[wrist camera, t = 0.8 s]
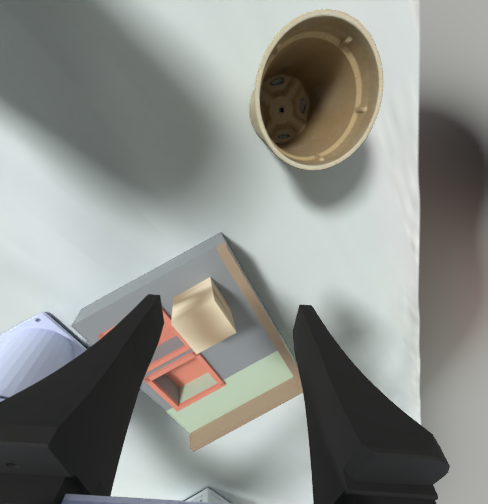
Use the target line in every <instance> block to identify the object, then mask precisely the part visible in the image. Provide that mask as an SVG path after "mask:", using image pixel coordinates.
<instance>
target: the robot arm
mask: <svg viewBox="0 0 488 504" xmlns="http://www.w3.org/2000/svg"><path fill="white" fill-rule="evenodd" d="M37 318H39V319H40V320H38V319H37ZM163 326H164V317H163V311H162V304H161V297H160V295H154V294H148V295H147V296H146V297H145V298H144V299H143V300H142V301H141V302H140V303H139V304H138V305H137V306H136V307H135V308H134V309H133V310H132V311H131V312H130V313H129V314H128V315H127V316H126V317H124V318H123V319H122V320H121V321H120V322H119V323H118V324H117V325H116V326H115V327H114V328H113V329H111V330H110V331H109V332H108V333H107V334H106V335H104V336H103V337H102V338H101V339H100V340H99V341H97V342H96V343H95V344H94V345H92V346H91V347H90V348H88V349H86V348H85V347H84V346H83V345H82V344H81V343H80V342H79V341H77V340H76V339H75V338H74V337H73V336H72V335H71V334H69V333H68V332H67V331H66V330H65V329H64V328H63V327H62V326H60V325H59V324H58V323H57V322H56V321H55V320H54V319H52V318H51V317H50V316H49V315H48V314H47V313H44V312H42V313H39V314H37V315H35V316H34V317H32V318H30V319H28V320H26V321H25V322H23V323H21V324H19V325H17V326H16V327H14V328H12V329H10V330H8V331H6V332H5V333H3V334H1V335H0V504H224V503H208V502H192V501H176V500H160V499H143V498H127V497H111V496H110V495H111V491H112V486H113V482H114V478H115V474H116V470H117V466H118V462H119V458H120V455H121V451H122V447H123V443H124V440H125V436H126V432H127V429H128V425H129V422H130V419H131V415H132V412H133V408H134V405H135V402H136V399H137V396H138V392H139V390H140V387H141V384H142V382H143V379H144V377H145V374H146V372H147V370H148V367H149V365H150V362H151V360H152V358H153V355H154V353H155V350H156V348H157V345H158V343H159V340H160V337H161V333H162V329H163ZM293 339H294V350H295V355H296V360H297V365H298V370H299V375H300V380H301V384H302V389H303V394H304V400H305V408H306V417H307V426H308V436H309V446H310V458H311V470H312V485H313V500H314V504H436V502H435V500H437V499H438V496H437V493H436V491H435V489H434V486H433V484H434V483H436V482H437V481H438V480H440V479H441V478H442V477H444V476H445V475H446V474H447V473H448V470H449V464H448V462H447V460H446V458H445V456H444V454H443V452H442V450H441V448H440V446H439V445H438V443H437V441H436V440H435V438H434V436H433V434H431V433H430V432H429V431H427V430H426V429H425V428H424V427H422V426H421V425H420V424H418V423H417V422H416V421H415V420H413V419H412V418H411V417H409V416H408V415H407V414H406V413H404V412H403V411H402V410H401V409H400V408H399V407H397V406H396V405H395V404H394V403H393V402H392V401H390V400H389V399H388V398H387V397H386V396H385V395H384V394H383V393H382V392H381V391H380V390H379V389H378V388H376V387H375V386H374V385H373V384H372V383H371V382H370V381H369V380H368V379H367V378H366V377H365V376H364V375H363V374H362V372H361V371H360V370H359V369H358V368H357V367H356V366H355V365H354V364H353V362H352V361H351V360H350V359H349V358H348V356H347V355H346V354H345V353H344V351H343V350H342V349H341V348H340V346H339V345H338V344H337V342H336V341H335V340H334V338H333V337H332V336H331V334H330V333H329V331H328V330H327V328H326V327H325V325H324V324H323V322H322V321H321V319H320V318H319V316H318V315H317V313H316V311H315V310H314V308H313V307H312V306H311V305H299V309H298V313H297V317H296V321H295V325H294V329H293Z"/></svg>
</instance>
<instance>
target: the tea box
mask: <svg viewBox="0 0 488 504" xmlns="http://www.w3.org/2000/svg"><path fill="white" fill-rule="evenodd" d="M185 501H192V502H208V503H224V504H231V503H229V502H228V501H227V500H225V499H224V498H223V497H221V496H220V495H218V494H217V493H216V492H214V491H213V490H211V489H210V488H208V487H207V488H206V489H204V490H203V491H201V492H200V493H198V494H196V495H194V496H193V497H191V498H189V499H188V500H185Z"/></svg>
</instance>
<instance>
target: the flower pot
mask: <svg viewBox="0 0 488 504" xmlns="http://www.w3.org/2000/svg"><path fill="white" fill-rule="evenodd" d="M277 79H283V80H284V81H283V83H282V84H276V85H272V86H271V84H270V83H271V82H273V81H274V80H277ZM382 95H383V71H382V64H381V59H380V55H379V53H378V51H377V48H376V44H375V43H374V40H373V38H372V37H371V35H370V33H369V32H368V31H367V29H365V27H364V26H363V25H362V24H361V23H360V22H359V21H358V20H356V19H355V18H354V17H352V16H350V15H348V14H347V13H345V12H341V11H336V10H331V9H325V10H323V9H321V10H315V11H311V12H307V13H305V14H302V15H300V16H298V17H297V18H295V19H293V20H292V21H290V22H289V23H288V24H287V25H286V26H284V27H283V28H282V29H281V30H280V31H279V33H278V34H277V35H276V36H275V37H274V39H273V40H272V42H271V43H270V44H269V46H268V48H267V50H266V52H265V54H264V56H263V58H262V61H261V63H260V66H259V69H258V73H257V77H256V83H255V90H254V92H253V94H252V97H251V101H250V119H251V123H252V125H253V128H254V130H255V132H256V133H257V134H258V135H259V137H260V138H261V139H263V140H264V141H265V142H266V143H267V145H268V146H269V147H270V149H271V150H272V151H273V152H274V154H275V155H276V156H277V157H279V158H280V159H281V160H282V161H284V162H285V163H287V164H289V165H291V166H293V167H296V168H299V169H304V170H322V169H326V168H329V167H331V166H334V165H336V164H338V163H340V162H342V161H344V160H345V159H347V158H348V157H349V156H351V155H352V154H353V153H354V152H355V151H356V150H357V149H358V148H359V147H360V146H361V144H362V143H363V142H364V140H365V139H366V138H367V136H368V134H369V133H370V131H371V129H372V127H373V125H374V123H375V120H376V118H377V115H378V112H379V109H380V104H381V100H382ZM302 98H303V99H304V101H305V111H304V112H301V104H300V99H302ZM280 108H283V109H284V111H283V112H282V113H281V112H280V111H279V109H280ZM286 134H288V137H286V138H282V139H280V138H278V136H282V135H286Z"/></svg>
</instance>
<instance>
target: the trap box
mask: <svg viewBox="0 0 488 504" xmlns="http://www.w3.org/2000/svg"><path fill="white" fill-rule="evenodd" d="M209 277H211V279H212V280H213V282H214V283H215V285H216V286H217V288H218V289H219V291H220V292H221V294H222V295H223V297H224V299H225V300H226V302H227V303H228V305H229V306H230V309H231V313H232V317H233V321H234V325H235V328H236V332H237V333H235V334H233V335H231V336H229V337H228V338H226V339H224V340H222V341H220V342H219V343H217V344H215V345H213V346H211V347H209V348H208V349H206V350H204V351H202V352H200V353H198V354H196V353H195V352H194V351H193V349H192V348H191V347H190V346H189V345H188V344H187V342H186V341H185V340H184V339H183V338H182V336H181V335H180V334H179V333H178V332H177V331H176V329H175V328H174V327H173V326H172V325H171V320H172V307H173V297H175V296H176V295H178V294H180V293H182V292H184V291H186V290H187V289H189V288H191V287H193V286H195V285H197V284H198V283H200V282H202V281H204V280H206V279H207V278H209ZM148 294H154V295H160V297H161V304H162V311H163V317H164V326H163V329H162V333H161V337H160V340H159V343H158V345H157V348H156V350H155V353H154V355H153V358H152V360H151V362H150V365H149V367H148V370H147V372H146V374H145V377H144V379H143V382H142V384H141V387H140V389H141V390H142V391H143V392H145V393H146V394H147V395H148V396H149V397H150V398H151V399H152V400H153V401H155V402H156V403H157V404H158V405H159V406H160V407H161V408H162V409H163V410H164V411H166V412H167V413H168V414H169V415H170V416H171V417H172V418H173V419H174V420H176V421H177V422H178V423H179V424H180V425H181V426H182V427H183V428H184V429H186V430H187V431H188V432H189V433H190V449H191V450H192V451H193V452H194V451H196V450H198V449H200V448H202V447H204V446H205V445H207V444H209V443H211V442H213V441H215V440H216V439H218V438H220V437H222V436H224V435H226V434H227V433H229V432H231V431H233V430H235V429H237V428H239V427H240V426H242V425H244V424H246V423H248V422H250V421H251V420H253V419H255V418H257V417H259V416H261V415H262V414H264V413H266V412H268V411H270V410H272V409H274V408H275V407H277V406H279V405H281V404H283V403H285V402H286V401H288V400H290V399H292V398H294V397H296V396H297V395H299V394H301V393H303V389H302V384H301V380H300V375H299V370H298V365H297V363H296V361H295V359H294V357H293V355H292V354H291V352H290V350H289V348H288V347H287V345H286V343H285V342H284V340H283V338H282V336H281V335H280V333H279V331H278V329H277V328H276V326H275V324H274V323H273V321H272V319H271V317H270V316H269V314H268V312H267V310H266V309H265V307H264V305H263V304H262V302H261V300H260V298H259V297H258V295H257V293H256V292H255V290H254V288H253V286H252V285H251V283H250V281H249V279H248V278H247V276H246V274H245V273H244V271H243V269H242V267H241V266H240V264H239V262H238V260H237V259H236V257H235V255H234V254H233V252H232V250H231V248H230V247H229V245H228V243H227V241H226V240H225V238H224V236H223V235H222V233H219V234H217V235H215V236H213V237H212V238H210V239H208V240H206V241H204V242H203V243H201V244H199V245H197V246H195V247H193V248H192V249H190V250H188V251H186V252H184V253H183V254H181V255H179V256H177V257H175V258H173V259H172V260H170V261H168V262H166V263H164V264H163V265H161V266H159V267H157V268H155V269H154V270H152V271H150V272H148V273H146V274H144V275H143V276H141V277H139V278H137V279H135V280H134V281H132V282H130V283H128V284H126V285H124V286H123V287H121V288H119V289H117V290H115V291H114V292H112V293H110V294H108V295H106V296H104V297H103V298H101V299H99V300H97V301H95V302H94V303H92V304H90V305H88V306H86V307H84V308H83V309H81V311H80V313H79V314H78V316H77V317H76V319H75V321H74V322H73V324H72V325H71V327H72V328H74V329H75V330H76V331H77V332H78V333H79V334H80V335H81V336H82V337H84V338H85V339H86V340H87V341H88V342H89V343H90V344H91V345H94V344H95V343H96V342H97V341H99V340H100V339H101V338H102V337H103V336H104V335H106V334H107V333H108V332H109V331H110V330H111V329H113V328H114V327H115V326H116V325H117V324H118V323H119V322H120V321H121V320H122V319H123V318H124V317H126V316H127V315H128V314H129V313H130V312H131V311H132V310H133V309H134V308H135V307H136V306H137V305H138V304H139V303H140V302H141V301H142V300H143V299H144V298H145V297H146V296H147V295H148Z"/></svg>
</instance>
